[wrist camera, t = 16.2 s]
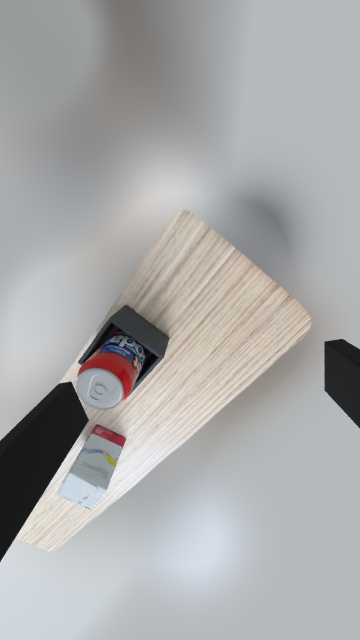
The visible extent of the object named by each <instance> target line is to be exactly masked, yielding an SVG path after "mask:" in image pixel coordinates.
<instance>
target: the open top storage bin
mask: <svg viewBox="0 0 360 640" xmlns="http://www.w3.org/2000/svg"><path fill="white" fill-rule="evenodd" d="M119 328H120V329H121V330H122V331H124V332H125V333H126V334H128V335H129V336H130V337H132V338H133V339H134V340H136V341H137V342H139V343H140V344H141V345H143V346H144V347H145V348H147V349H148V350H149V353H148V356H147V358H146V360H145V362H144V364H143V367H142V369H141V371H140V373H139V375H138V378H137V380H136V382H135V384H134V386H133V389H132V391H131V393H132V392H133V391H134V390H135V389H136V387H137V386H138V385H139V384H140V383H141V382H142V381H143V380H144V379H145V377H146V376H147V375H148V374H149V373H150V372H151V371H152V370H153V369H154V367H155V366H156V365H157V364H158V363H159V362H160V361H161V360H162V359H163V358H164V355H165V351H166V348H167V344H168V341H169V337H168V336H166V335H165V334H164V333H162V332H161V331H160V330H158V329H157V328H156V327H155V326H153V325H152V324H151V323H149V322H148V321H147V320H145V319H144V318H143V317H141V316H140V315H139V314H137V313H136V312H135V311H134V310H132V309H131V308H130V307H128V306H127V305H125V306H124V307H123V308H122V309H120V310H119V311H118V312H117V313H115V314H114V315H113V316H111V317H110V318H109V320H108V321H107V323H106V324H105V325H104V327H103V328H102V329H101V331H100V332H99V334H98V335H97V336H96V338H95V339H94V340H93V342H92V343H91V345H90V346H89V347H88V349H87V350H86V352H85V353H84V354H83V356H82V357H81V358H80V360H79V361H78V363H79V364H81V365H83V364H84V363H85V362H86V361H87V360H88V359H89V358H90V357H91V356H92V354H93V353H94V352H95V351H96V350H97V349H98V348H99V347H100V346H101V345H102V344H103V343H104V342H105V341H106V340H107V339H108V338H109V337H110V336H111V335H112V334H113V333H114V332H115V331H116V330H118V329H119ZM131 393H130V394H131Z"/></svg>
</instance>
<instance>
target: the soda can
mask: <svg viewBox="0 0 360 640" xmlns="http://www.w3.org/2000/svg"><path fill="white" fill-rule="evenodd" d="M148 353H149V350H148V349H147V348H145V347H144V346H143V345H141V344H140V343H139V342H137V341H136V340H134V339H133V338H132V337H130V336H129V335H128V334H126V333H125V332H124V331H122V330H121V329H120V328H119V329H118V330H116V331H115V332H114V333H113V334H112V335H111V336H110V337H109V338H108V339H107V340H106V341H105V342H104V343H103V344H102V345H101V346H100V347H99V348H98V349H97V350H96V351H95V352H94V353H93V354H92V356H91V357H90V358H89V359H88V360H87V361H86V362H85V363H84V364H83V365H82V366H81V368H80V370H79V372H78V379H77V381H76V390H77V393H78V395H79V397H80V398H81V399H82V400H83V401H84V402H85V403H86V404H88V405H89V406H91V407H94V408H97V409H111V408H113V407H115V406H117V405H118V404H119V403H121V402H123V401H124V400H125V399H126V398H127V397H128V396H129V395H130V393H131V391H132V389H133V386H134V384H135V382H136V380H137V378H138V375H139V373H140V371H141V369H142V367H143V364H144V362H145V360H146V358H147V356H148Z"/></svg>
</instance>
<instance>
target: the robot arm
mask: <svg viewBox="0 0 360 640" xmlns="http://www.w3.org/2000/svg"><path fill="white" fill-rule="evenodd" d="M325 391H326V392H327V393H328V395H329V396H330V397H331V398H332V399H333V400H334V401H335V402H336V403H337V404H338V405H339V406H340V407H341V408H342V410H343V411H344V412H345V413H346V414H347V415H348V416H349V417H350V418H351V419H352V420H353V421H354V423H355V424H356V425H357V426H358V427H359V428H360V349H358V348H357V347H355V346H353V345H352V344H350V343H348V342H347V341H345V340H343V339H339V340H332V341H326V342H325ZM88 421H89V420H88V418H87V415H86V413H85V411H84V409H83V406H82V404H81V402H80V400H79V398H78V395H77V393H76V391H75V389H74V387H73V384H72V382H66V383H60V384H58V385H57V386H56V387H55V388H54V389H53V390H52V391H51V392H50V393H49V394H48V395H47V396H46V397H45V398H44V399H43V400H42V401H41V402H40V403H39V404H38V405H37V406H36V407H34V408H33V409H32V410H31V411H30V412H29V413H28V414H27V415H26V416H25V417H24V418H23V419H22V420H21V421H20V422H19V423H18V424H17V425H16V426H15V427H14V428H13V429H12V430H11V431H10V432H9V433H8V434H7V435H6V436H5V437H4V438H3V439H2V440H1V441H0V561H1V560H2V558H3V557H4V555H5V553H6V551H7V550H8V548H9V547H10V545H11V544H12V542H13V541H14V539H15V537H16V536H17V534H18V533H19V531H20V529H21V528H22V526H23V525H24V523H25V521H26V520H27V518H28V517H29V515H30V513H31V512H32V510H33V509H34V507H35V505H36V504H37V502H38V501H39V499H40V498H41V496H42V494H43V493H44V491H45V490H46V488H47V486H48V485H49V483H50V482H51V480H52V478H53V477H54V475H55V474H56V472H57V470H58V469H59V467H60V466H61V464H62V462H63V461H64V459H65V458H66V456H67V454H68V453H69V451H70V450H71V448H72V446H73V445H74V443H75V442H76V440H77V438H78V437H79V435H80V434H81V432H82V430H83V429H84V427H85V426H86V424H87V422H88Z"/></svg>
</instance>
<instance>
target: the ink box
mask: <svg viewBox="0 0 360 640" xmlns="http://www.w3.org/2000/svg"><path fill="white" fill-rule="evenodd" d="M125 441H126V438H124V437H122V436H120V435H118V434H116V433H114V432H112V431H110V430H108V429H106V428H103V427H101V426H99V425H96V426H95V428H94V430H93V431H92V433H91V435H90V436H89V438H88V440H87V441H86V443H85V445H84V446H83V448H82V450H81V451H80V453H79V455H78V456H77V458H76V460H75V462H74V463H73V465H72V467H71V469H70V470H69V472H68V474H67V476H66V478H65V479H64V481H63V483H62V485H61V487H60V488H59V490H58V492H57V494H58V495H60V496H62V497H64V498H66V499H68V500H70V501H73V502H75V503H77V504H79V505H81V506H83V507H85V508H88V509H90V510H93V508H94V507H95V505H96V504H97V503H98V501H99V500H100V499H101V497H102V496H103V495H104V493H105V492H106V490H107V488H108V485H109V482H110V480H111V477H112V475H113V472H114V469H115V467H116V464H117V461H118V459H119V456H120V454H121V451H122V448H123V446H124V443H125Z"/></svg>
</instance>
